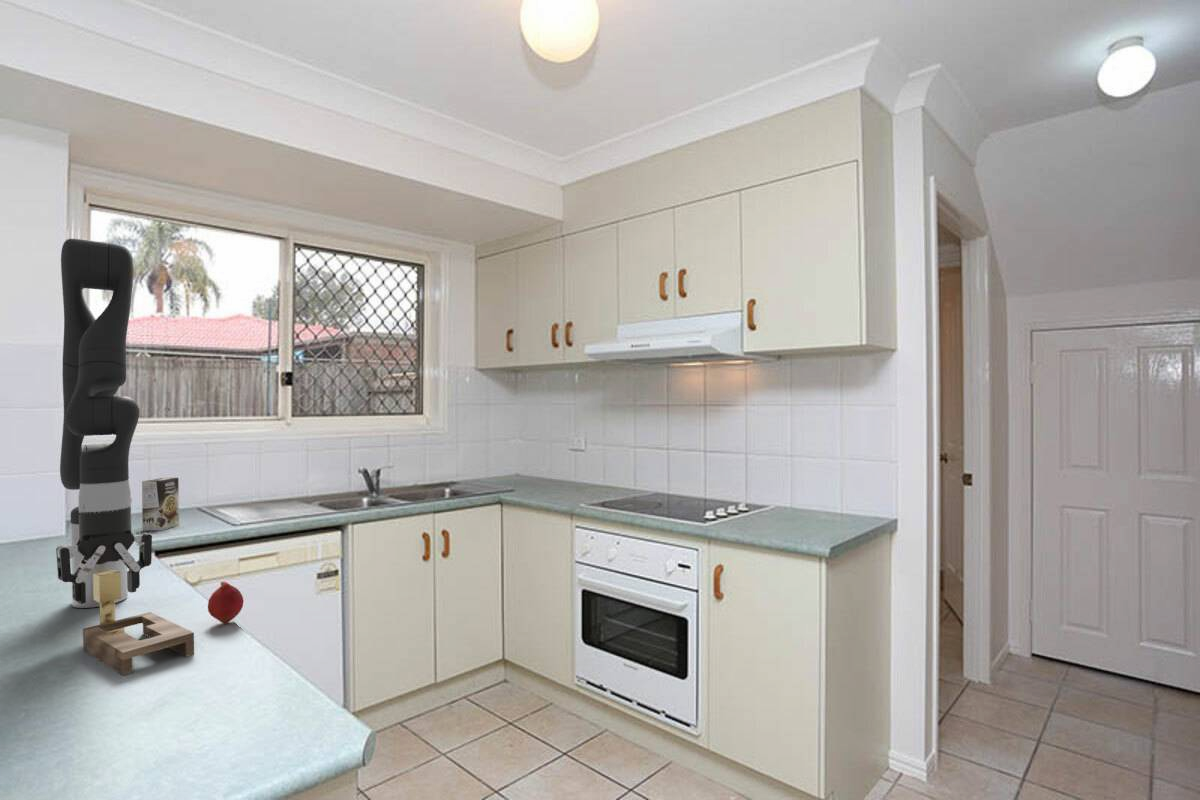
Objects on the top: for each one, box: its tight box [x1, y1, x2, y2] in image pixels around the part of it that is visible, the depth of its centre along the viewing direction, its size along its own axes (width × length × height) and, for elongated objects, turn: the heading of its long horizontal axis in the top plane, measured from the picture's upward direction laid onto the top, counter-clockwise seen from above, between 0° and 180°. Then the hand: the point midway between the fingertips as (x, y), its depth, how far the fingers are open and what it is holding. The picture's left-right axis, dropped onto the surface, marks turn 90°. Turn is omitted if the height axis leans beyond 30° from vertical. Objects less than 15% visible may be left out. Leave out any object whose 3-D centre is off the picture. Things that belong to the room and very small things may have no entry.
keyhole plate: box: [82, 611, 195, 676], centre depth 109 cm, size 18×10×4 cm, turn 54°
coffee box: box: [141, 477, 180, 532], centre depth 212 cm, size 9×6×16 cm
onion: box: [207, 580, 244, 624], centre depth 122 cm, size 6×6×8 cm
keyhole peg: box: [93, 570, 125, 635], centre depth 117 cm, size 5×5×11 cm
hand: (107, 596), depth 117 cm, fingers open, 7 cm apart
